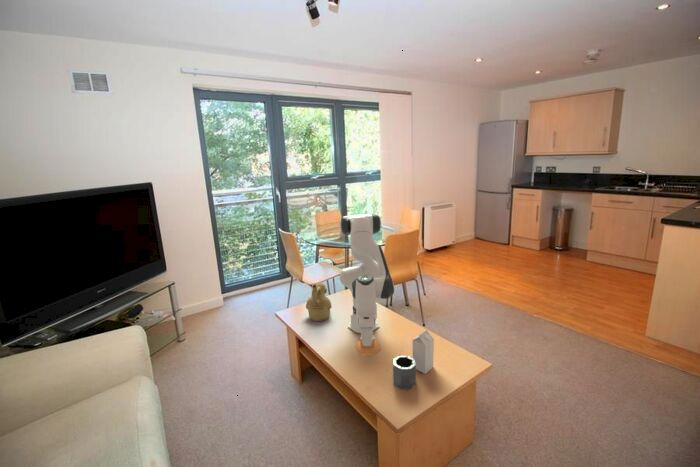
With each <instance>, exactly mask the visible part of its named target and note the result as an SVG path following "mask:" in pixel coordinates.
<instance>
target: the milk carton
mask: <svg viewBox="0 0 700 467" xmlns="http://www.w3.org/2000/svg"><path fill="white" fill-rule="evenodd" d="M434 343H435V340H434V337H433V336H432V335H431V334H430V332H429V331H428V328H426V329H425V330H423V331H422V332H421V333H420V334H419V333H418V335H417V336H416V337H414V338H413V339H412V358H413V359H415V364H416V371H419V372H421V373H423V374H424V375H425V374H428V372H429V371H431V370H432V369H433V368H434V351H435V350H434V347H435V344H434Z"/></svg>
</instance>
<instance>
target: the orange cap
mask: <svg viewBox="0 0 700 467" xmlns="http://www.w3.org/2000/svg"><path fill="white" fill-rule="evenodd" d="M359 338H360V339H359V340H358V341H357V342H356V343H355V345H354V349H355V351H356V353H358V354H359V355H362V356H365V357H371V356H374V355H376V354H378V353H379V352H380V351H381V344H380V343H379V341H378V340H375V335H373V337H372V344H371V345H370V346H364V345H363V344H362V338H361V335H360V337H359Z"/></svg>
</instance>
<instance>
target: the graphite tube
mask: <svg viewBox="0 0 700 467" xmlns="http://www.w3.org/2000/svg"><path fill="white" fill-rule="evenodd" d="M392 380H393V385H394V386H395V387H397V388H398V389H400V390H412V388H413V387H415V386H416V385H417V370H416V364H415V359H413V357H411V356H409V355H397V356H395V358H392Z"/></svg>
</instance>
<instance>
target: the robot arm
mask: <svg viewBox="0 0 700 467" xmlns="http://www.w3.org/2000/svg"><path fill="white" fill-rule="evenodd" d="M381 229H382V220H381V218H380V216H379V215H378V214H376V213H372V214H368V213H367V214H366V213H359V214H352V215H344V216H342V217H341V218H340V221H339V230H340V231H341V234H343V235H344V236H350V253H351V258H352V259H354V260H355V261H357V262H361V265H356V266H355V265H354V266H348V267H345V268H342V269H341V271H339V272H340V273H339V280H340V283H341V284H342V285H343V286H344V287H347V289H348V290H349V291H350V292H351V296H352V302H353V303H352V304H353V305H352V312H351V313H350V321H349V323H348V325H347V329H349V330H351V331H352V332H355V333H358V334H360V336H361V338H362V344H363V345H364V346H370V345H371V344H372V337H373V336H374V335H373V334H374V331H375V330H376V329H379V328H380V325H379V322H378V321H377V319H378V306H377V299H382V300H388V299H390V298H391V297H392V296H393V295H394V294H395V284H394V280H393V278H392V276H391V272H390V270H389V267H388V263H387V260H386V257H385V254H384V250H383V249H382V246H381V245H380V244H378V243H377V242H376V240H375V239H374V235H375V234H378V233H380V231H381Z"/></svg>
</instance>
